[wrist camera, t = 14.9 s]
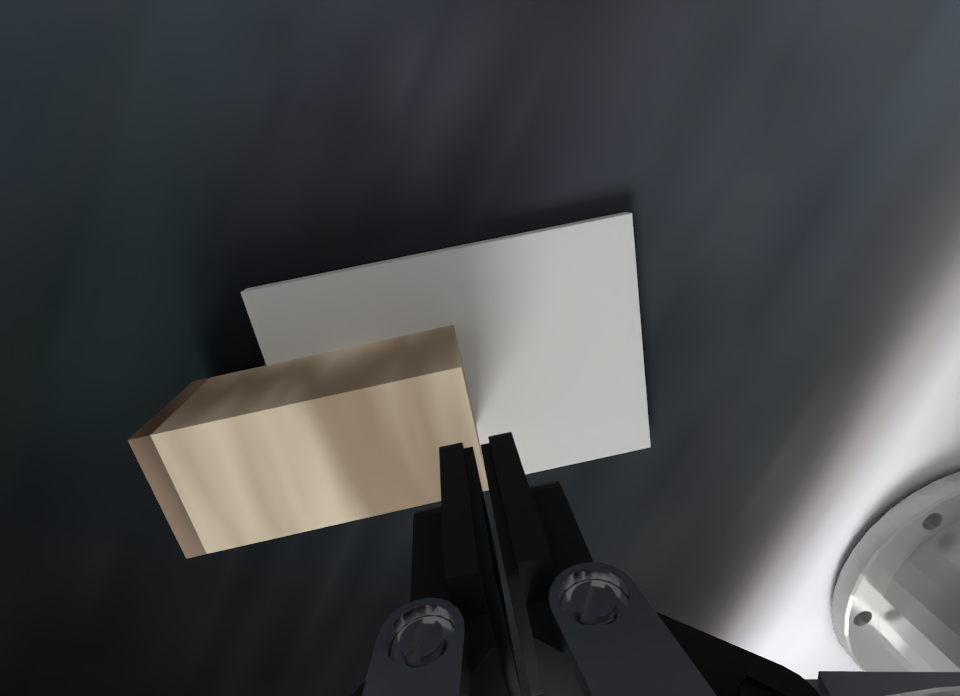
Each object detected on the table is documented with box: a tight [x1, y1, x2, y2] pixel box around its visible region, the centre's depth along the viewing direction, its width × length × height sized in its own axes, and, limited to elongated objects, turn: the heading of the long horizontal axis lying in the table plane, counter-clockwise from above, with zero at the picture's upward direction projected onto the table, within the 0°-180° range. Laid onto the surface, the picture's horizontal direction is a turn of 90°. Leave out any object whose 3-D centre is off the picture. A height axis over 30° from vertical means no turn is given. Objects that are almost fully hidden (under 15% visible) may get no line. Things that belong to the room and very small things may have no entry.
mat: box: [240, 212, 651, 483], centre depth 18 cm, size 13×9×1 cm
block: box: [128, 325, 489, 558], centre depth 16 cm, size 4×4×9 cm
